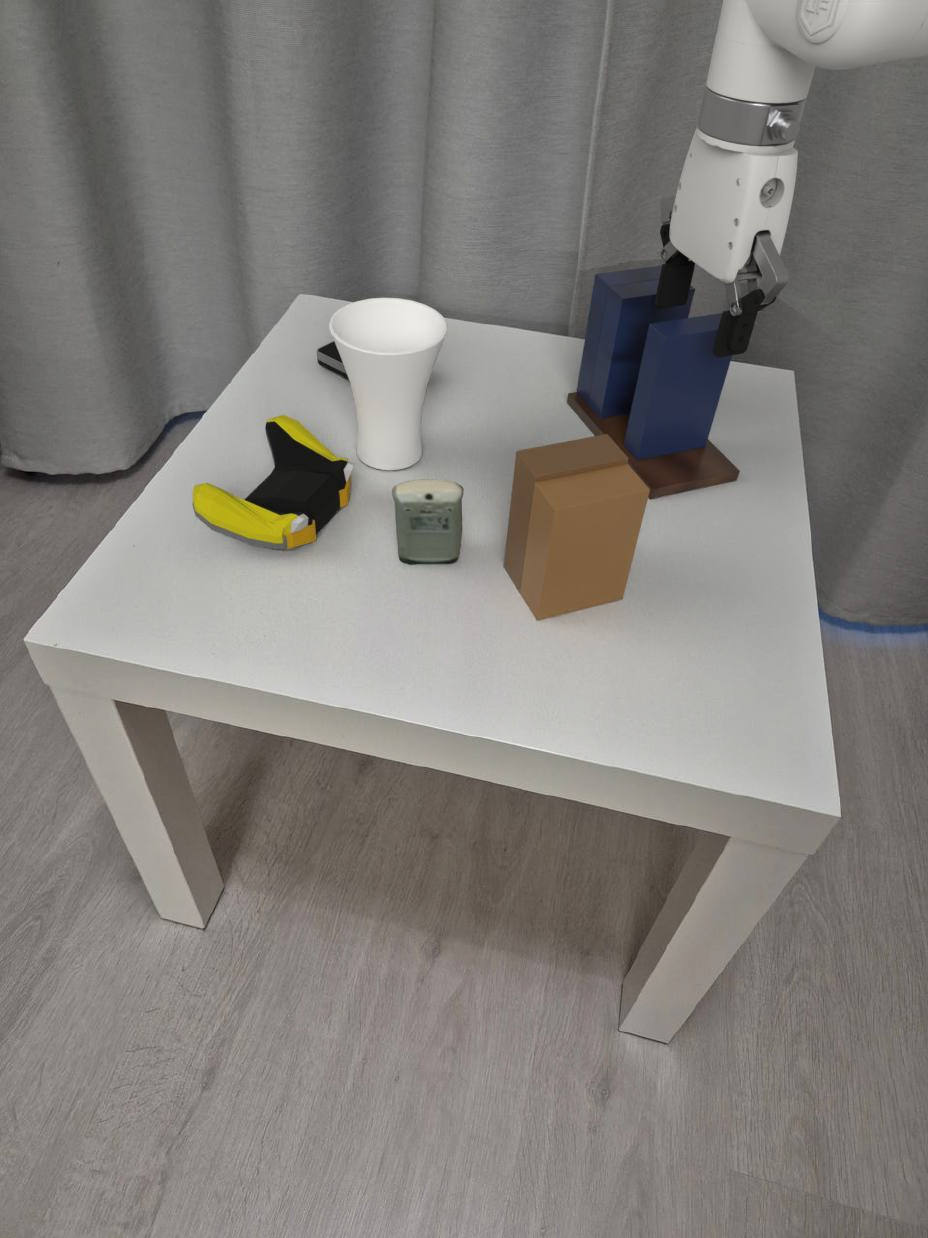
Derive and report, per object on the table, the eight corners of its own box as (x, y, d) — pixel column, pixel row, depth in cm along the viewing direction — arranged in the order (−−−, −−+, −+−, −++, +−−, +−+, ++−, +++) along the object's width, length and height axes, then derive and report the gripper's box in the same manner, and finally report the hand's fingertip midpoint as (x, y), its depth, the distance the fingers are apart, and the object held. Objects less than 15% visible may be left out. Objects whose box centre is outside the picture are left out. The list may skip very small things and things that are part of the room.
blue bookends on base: (646, 388, 98) (674, 263, 88) (737, 480, 87) (781, 348, 77) (566, 402, 95) (586, 274, 85) (649, 499, 84) (683, 365, 74)
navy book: (691, 431, 90) (724, 312, 81) (705, 446, 89) (741, 326, 79) (623, 445, 88) (649, 323, 79) (636, 460, 86) (665, 337, 77)
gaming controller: (189, 542, 76) (288, 577, 74) (177, 491, 72) (282, 526, 70) (281, 453, 86) (372, 482, 84) (275, 404, 82) (370, 432, 80)
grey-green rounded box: (414, 586, 74) (415, 511, 68) (381, 552, 77) (380, 477, 71) (469, 562, 76) (475, 488, 71) (435, 529, 79) (438, 456, 73)
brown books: (585, 547, 78) (607, 433, 70) (622, 599, 74) (651, 484, 65) (503, 566, 76) (516, 450, 68) (537, 621, 72) (555, 504, 63)
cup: (449, 480, 84) (455, 351, 75) (339, 486, 83) (331, 355, 73) (435, 420, 92) (439, 295, 82) (333, 424, 90) (325, 298, 80)
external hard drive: (358, 344, 102) (358, 328, 101) (431, 379, 97) (431, 362, 96) (315, 366, 98) (314, 350, 97) (388, 403, 93) (388, 386, 92)
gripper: (863, 149, 63) (790, 368, 75) (726, 84, 74) (682, 284, 86) (776, 157, 60) (716, 381, 72) (649, 89, 72) (615, 293, 84)
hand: (698, 328), depth 79 cm, fingers open, 9 cm apart
